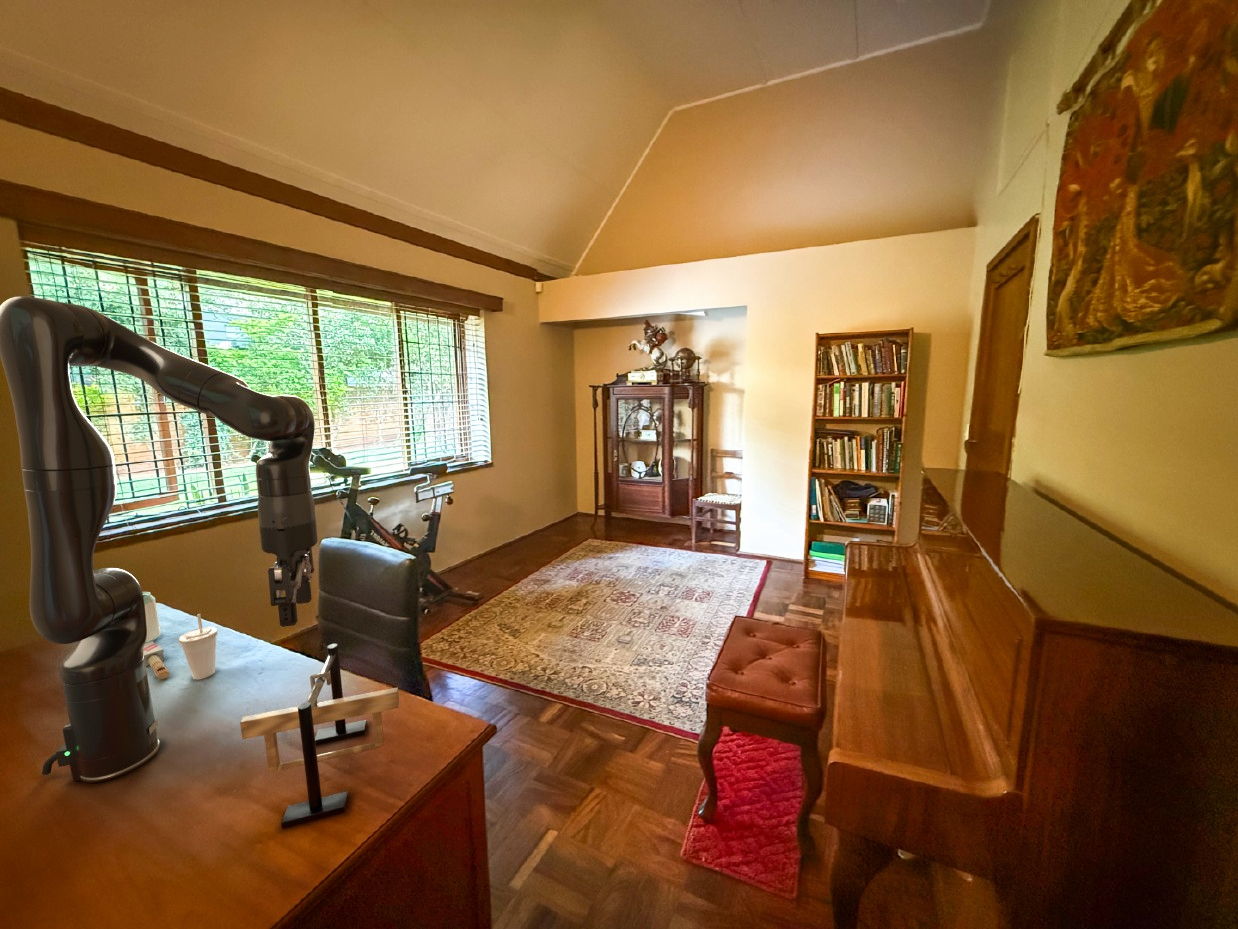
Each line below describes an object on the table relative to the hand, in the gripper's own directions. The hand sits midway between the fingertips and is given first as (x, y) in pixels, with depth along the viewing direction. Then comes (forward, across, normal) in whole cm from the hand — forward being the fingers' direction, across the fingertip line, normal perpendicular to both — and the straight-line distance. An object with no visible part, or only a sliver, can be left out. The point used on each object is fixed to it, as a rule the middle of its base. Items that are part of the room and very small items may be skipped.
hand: (296, 613), depth 78 cm
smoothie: (+26, -34, -28) cm, 52 cm away
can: (+27, -58, -50) cm, 81 cm away
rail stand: (+25, +6, +4) cm, 26 cm away
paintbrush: (+26, -44, -41) cm, 65 cm away
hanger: (+23, +6, +4) cm, 25 cm away
